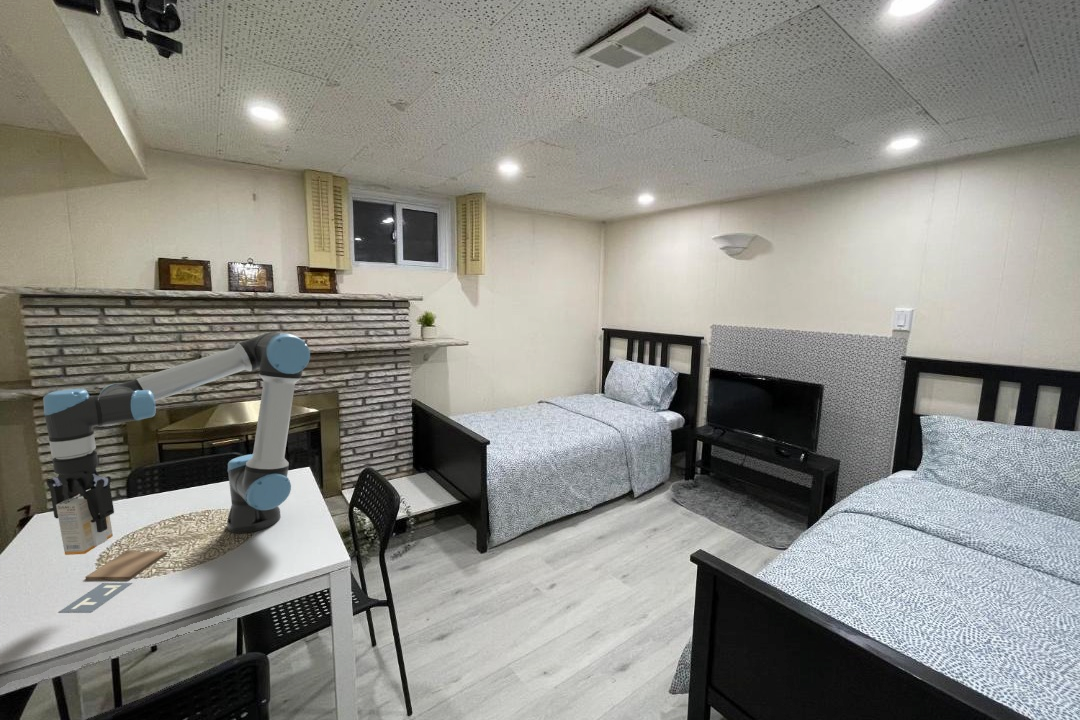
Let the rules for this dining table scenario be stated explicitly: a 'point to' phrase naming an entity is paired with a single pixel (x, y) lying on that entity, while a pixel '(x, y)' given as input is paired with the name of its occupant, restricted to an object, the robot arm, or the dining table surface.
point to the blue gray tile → (96, 597)
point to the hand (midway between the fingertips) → (89, 543)
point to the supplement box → (77, 525)
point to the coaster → (126, 565)
